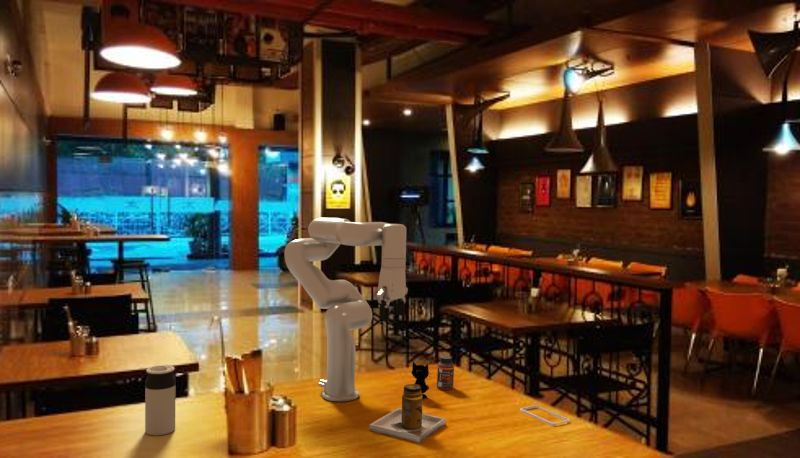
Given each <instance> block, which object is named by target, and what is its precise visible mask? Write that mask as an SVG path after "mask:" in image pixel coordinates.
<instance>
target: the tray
mask: <svg viewBox="0 0 800 458" xmlns="http://www.w3.org/2000/svg"><path fill="white" fill-rule="evenodd" d="M446 420H447V419H446V417H445V418H444V417H440V416H435V415H430V414H427V413H423V412H422V425H424V426H426V427H427V428H424V429H420V430H416V431H411V432H403V431H399V430H398V429H396V428H394V427H393V426H391V425H390V424H396V423H399V422H401V421H402V408H400V407H398V408H396V409H393V410H392V411H390V412H389V413H387V414H386V415H384V416H382V417H380V418H379V419H377V420H374V421H373V422H371V423H370V424H369V425H368V426H369V432H373V433H377V434H382V435H385V436H388V437H389V436H390V437H393V438H397V439H402V440H405V441H410V442H414V443H417V444H421V443H423V442H424V441H425V440H426V439H428V438H429V437H430V436H432V435H433V434H434V433H436V432H437V431H439V430H440V429H442V428H443V427H444V426H446V425H447V424H446V423H447V422H446Z"/></svg>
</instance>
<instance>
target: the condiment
mask: <svg viewBox="0 0 800 458" xmlns="http://www.w3.org/2000/svg"><path fill="white" fill-rule="evenodd" d="M423 400H424V399H422V395H421V386H419V385H416V384H414V383H410V384H405V385H404V386H403V394H402V396H401V409H402V421H401V422H399V423H396V424H390V425H391V426H393V427H394V428H396V429H398V430H399V431H403V432H411V431H416V430H420V429H424V428H427V427H426V426H424V425H422V413H423Z"/></svg>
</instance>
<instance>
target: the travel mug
mask: <svg viewBox="0 0 800 458" xmlns="http://www.w3.org/2000/svg"><path fill="white" fill-rule="evenodd" d="M175 369H176V368H175V366H173V365H168V364H161V365H154V366H150V367H148V368H146V369H145V370H146V371H145V372H146V374H147V377H146V379H145V381H144V382H145V383H144V385H145V386H144V388H145V390H144V393H145V395H144V397H145V399H144V408H145V409H144V410H145V411H144V413H145V414H144V421H145V422H144V423H145V425H144V430H145V431H144V433H145V434H148V435H149V436H154V437H155V436H164V435H168V434H170V433H172V432H173V431H175V430H176V376H175V375H174V372H175Z"/></svg>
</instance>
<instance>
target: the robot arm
mask: <svg viewBox="0 0 800 458" xmlns="http://www.w3.org/2000/svg"><path fill="white" fill-rule="evenodd" d="M307 232H308V234H309V237H306V238H298V239H294V240H291V241H289V242H288V243H287V244H286V246H285V248H284V262H285V265H286V267H287V269H288V271H289V273H290V274H291V275H292V276H293V277H294V278H295V279H296V280H297V281H298V282H299V283H300V285H301V286H302V287H303V289H304V290H305V291H306V293H307V294H308V296H309V297H310V299H311V300H312V301H313V302H314V303H315V305H316V306H317V307H318V308H319V309H323V310H324V309H325V310H326V312H325V314H324V324H325V330H326V331H325V332H326V346H327V347H326V348H327V349H326V350H327V351H326V354H327V355H326V360H327V361H326V379H323V378H321V379H320V380H319V382H318V383H317V386H318V387H321V388H323V391H321V397H322V398H323V399H324V400H326V401H330V402H340V403H341V402H351V401H354V400H356V399H357V398H359V397H360V391H359V390H357V389H356V388H355V385H356V383H355V382H356V377H355V376H356V374H355V373H356V342H355V338H354V336H353V334H352V331H354V330H359V329H363V328H365V327H368V326H369V325H370V324H371V322H372V320H373V311H372V308H371V306H370V305H369V303H368V302H367V300H366V299H365V298H364V296H363V295H362V294H361V293H360V291H358V289H357V288H356V287H355V286H354V284H353V283H351V282H350V281H348V280H347V279H334V280H333V279H329V278H328V277H327V276H326V275H325V273H324V271H322V270H321V269H320V268H319V267H318V266H317V265H314V264H313V263H311V262H318V261H319V262H321V261H325V260H328V259H329V258H330V257H331V256H332V255H333V254H334V253H335V252H336V250H337V249H338V248H339V247H340V246H341V245H344V246H351V247H373V246H375V247H376V246H378V247H379V246H381V267H380V270H379V271H380V272H379V278H378V285H377V286H378V287H377V293H376V300H377V303H378V308H379V310H378V311H379V315H378V318H379V319H378V320H380V321H385V322H388V321H390V303H391V302H393V301H396V302H395V304H394V305H395V311H394V315H396V316H401V317H404V316H405V315H406V311H405V310H406V302H407V300H406V299H407V296H408V295H407V294H408V292H409V290H408V289H409V288H408V287H407V285H406V284H407V281H406V279H407V278H406V261H407V260H406V259H407V258H406V257H407V256H406V255H407V227H406V226H405V225H404V224H401V223H389V222H383V221H372V222H371V221H369V222H367V221H364V222H358V221H357V222H355V221H351V220H349V219H347V218H340V217H337V216H336V217H335V216H334V217H331V216H330V217H329V216H328V217H317V218H315V219H313V220H311V222H310V223H309V224H308V228H307Z"/></svg>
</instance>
